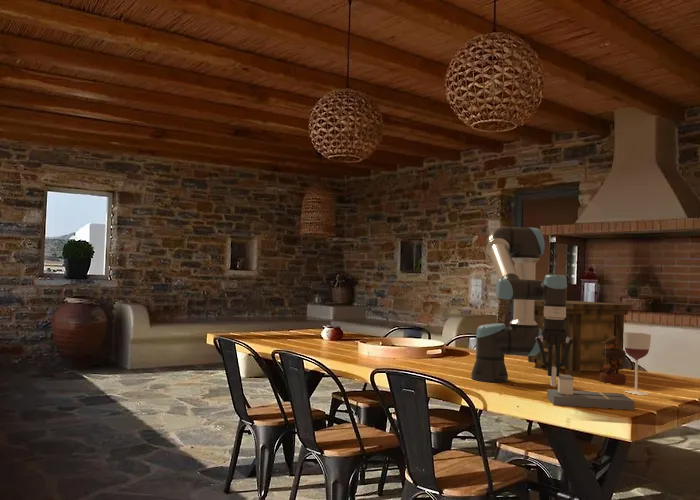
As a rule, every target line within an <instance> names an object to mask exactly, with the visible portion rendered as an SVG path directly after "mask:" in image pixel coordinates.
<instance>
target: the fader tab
mask: <svg viewBox="0 0 700 500" xmlns="http://www.w3.org/2000/svg"><path fill="white" fill-rule="evenodd" d="M574 381H575V378H574V377H573V375H568V374H559V377H557V390H558V392H559V393H560V394H569V395H573V391H574Z"/></svg>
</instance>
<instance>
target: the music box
mask: <svg viewBox="0 0 700 500" xmlns="http://www.w3.org/2000/svg"><path fill="white" fill-rule="evenodd" d="M617 340H618V339H617V337H615V336H613V337H612V338H609V339H607V340H605V341H603V342H600V343H605V344H608V349H606V346H605V349H604V350H603V351H602V354H603V356H604V357H605V358H603V361H609V364H607V366H606V364H604V366H603V368H602V370H603V372H601V373H600V372H599V382H600V383H602V382H604V383H603V384H607V383H611V384H610V385H626V384H625V383H626V382H627V376H626V375H625V374H624V373H620V372H619V370H618V367H619V366H622V365H621V364H620V363H619V362H621V361H619V359H623V360H624V359H625V358H626V356H627V353H626V351H625V349H623V350H621V349H618V348H617V346H615V348H614V346H611V348H610V349H609V345H611V344H614V343H616V344H617ZM613 359H615V361H613ZM611 367H612V368H613V369H616V370H615V372H611V370H612V368H611Z"/></svg>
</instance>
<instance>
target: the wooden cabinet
mask: <svg viewBox="0 0 700 500" xmlns="http://www.w3.org/2000/svg"><path fill="white" fill-rule="evenodd" d="M632 307H633V304H622V303H611V302H610V303H609V302H595V301H582V300H566V318H564V320H565V321H566V334H567V337H569V338H570V339H572V340H573V343H572V344H571V346H570V349H569V353H568V356H567V360H566V364H565V366H561V367H560V369H563V370H564V375H571V376H581V371H582V372H583V371H599V374H600V373H601V372H603V370H602V368H603V366H604V364H606V366H607V364H609V361H603V358H605V357H604V356H603V354H602V351H603V350H604V349H605V346H606V349H608V344H605V343H600V342H603V341H605V340H607V339H609V338H612V337H613V336H615V337H617V339H618V340H617V344H616V343H614V344H611V345H609V349H610V348H611V346H614V348H615V346H617V348H618V349H621V350H624V340H623V333H625V332H624V331H625V329H624V327H625V325H624V324H625V315H626V316H627V315H628V314H629V311H633V308H632ZM628 316H629V315H628ZM544 319H545V317H544V301H542V300H535V314H534V320H535V321H536V323H537V324H538V328H540V329H541V330H542V332H543V325H544ZM565 341H566V339H565V340H564V341H563V343H562V344H561V347H560V362H561V359H562V356H563V352H564V348H565V345H566V342H565ZM542 344H543V348H544V352H545V357H546V361H547V362H548V343H547V342H546V341H545V339H544V338H543V342H542ZM613 361H615V359H613ZM619 361H621V362H619V363H620V364H621V365H622V366H619V367H618V371H621V370H622V371H623V370H624V359H619ZM527 363H533V364H534V368H538V369H548V366H546V365H544V364H543V363H542V358H541V354H540V351H539V353H538V354H537V355H534V356H527ZM552 367H555V345H553V354H552ZM611 368H612V367H611ZM611 372H615V373H616V369H613V368H612V370H611Z"/></svg>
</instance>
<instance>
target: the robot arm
mask: <svg viewBox="0 0 700 500" xmlns="http://www.w3.org/2000/svg"><path fill="white" fill-rule="evenodd" d="M484 246H485V247H484V248H485V253H487V256H489V258H491V261H492V264H493V268H494V270H495V272H496V276H497V281H496V282H495V293H496V297H497V298H498V299H501V300H502V299H503V300H513V316H512V317H513V318H512V320H511V321H510V322H509V326H506V324H505V323H501V322H500V323H487V324H486V323H485V324H481V325H479V326H478V327H477V329H476V336H475V337H476V338H475V339H476V344H475V345H476V347H475V349H476V350H475V352H476V354H475V362H474V365H473V368H472V370H471V375H470V376H471V377H470V379H472V380H475V381H478V382H479V381H480V382H488V383H506V382H508V381H509V374H508V370H507V367H506V364H505V356H523V357H524V356H525V357H528V356H534V355H537V354H538V353H539V351H540V354H541V358H542V363H543V364H544V365H546V366H548V368H547V376H548V377H550V386H551V387H557V378H558V377H559V375H560V369H561V368H560V367H561V366H565V364H566V360H567V356H568V353H569V349H570V346H571V344H572V343H573V340H572V339H570V338H569V337H567V334H566V321H565V320H564V318H566V301H567V294H568V293H567V289H568V284H567V279H568V278H567V277H566V275H563V274H561V275H560V274H546V275H545V276H544V279H536V264H537V263H538V261H540V256H543V255H544V253H545V248H546V247H545V239H544V235H543V232H542V230H541V229H539V228H537V227H529V226H527V227H526V226H525V227H524V226H523V227H522V226H501V227H498V228H496V229H494V230H493V231H492V232H491V233H489V235H488V236H487V238H486V239H485V244H484ZM535 300H542V301H544V317H545V319H544V325H543V332H542V330H541V329H540V328H538V324H537V323H536V321H535V320H534V314H535ZM543 338H544V339H545V341H546V342H547V343H548V362H547V361H546V357H545V352H544V348H543V344H542V342H543ZM565 339H566V341H565V342H566V345H565V348H564V352H563V356H562V359H561V362H560V347H561V344H562V343H563V341H564V340H565ZM553 345H555V367H552V354H553Z"/></svg>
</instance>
